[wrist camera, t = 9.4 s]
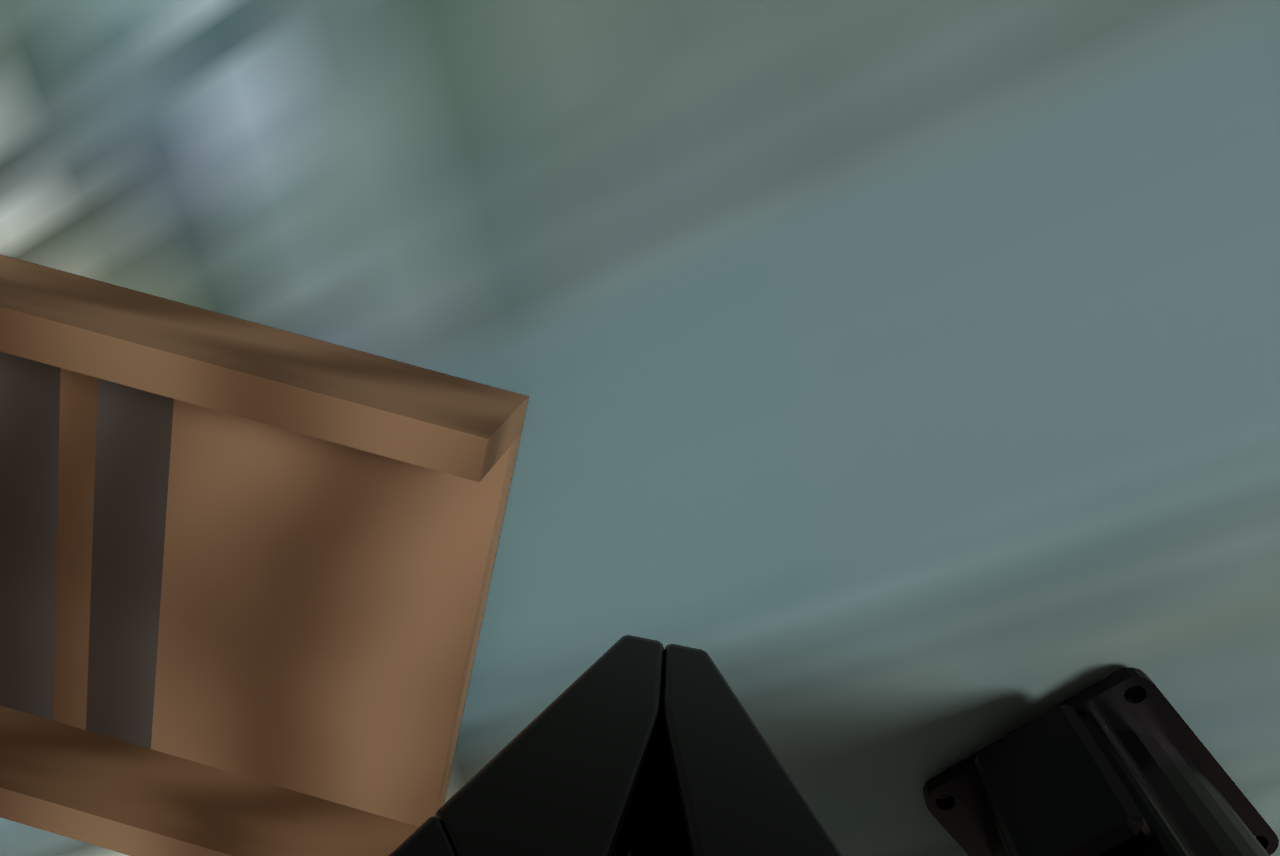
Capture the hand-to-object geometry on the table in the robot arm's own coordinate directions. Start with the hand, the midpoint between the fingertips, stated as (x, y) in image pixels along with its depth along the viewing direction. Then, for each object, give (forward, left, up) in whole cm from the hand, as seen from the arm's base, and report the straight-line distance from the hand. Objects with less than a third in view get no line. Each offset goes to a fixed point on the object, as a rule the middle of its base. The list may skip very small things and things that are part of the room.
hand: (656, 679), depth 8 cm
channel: (+8, +16, -12) cm, 21 cm away
